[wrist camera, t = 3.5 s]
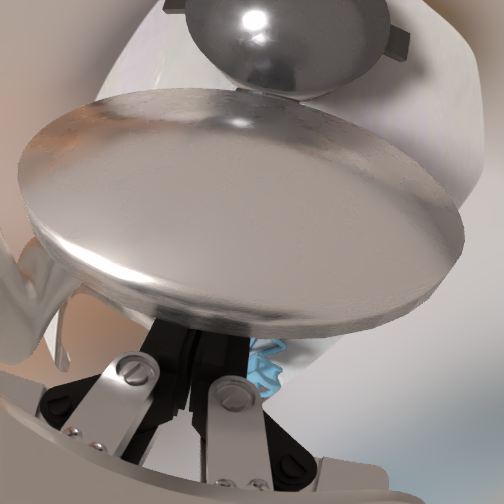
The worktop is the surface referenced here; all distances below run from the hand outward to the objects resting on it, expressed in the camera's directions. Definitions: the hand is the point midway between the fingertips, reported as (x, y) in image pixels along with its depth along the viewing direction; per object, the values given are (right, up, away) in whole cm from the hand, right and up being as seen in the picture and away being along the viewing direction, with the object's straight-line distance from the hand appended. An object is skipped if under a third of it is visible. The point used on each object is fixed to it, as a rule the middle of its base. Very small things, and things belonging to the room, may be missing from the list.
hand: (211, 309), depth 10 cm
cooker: (+6, +33, +19) cm, 39 cm away
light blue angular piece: (+3, -17, +44) cm, 47 cm away
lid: (+2, +10, +4) cm, 11 cm away
